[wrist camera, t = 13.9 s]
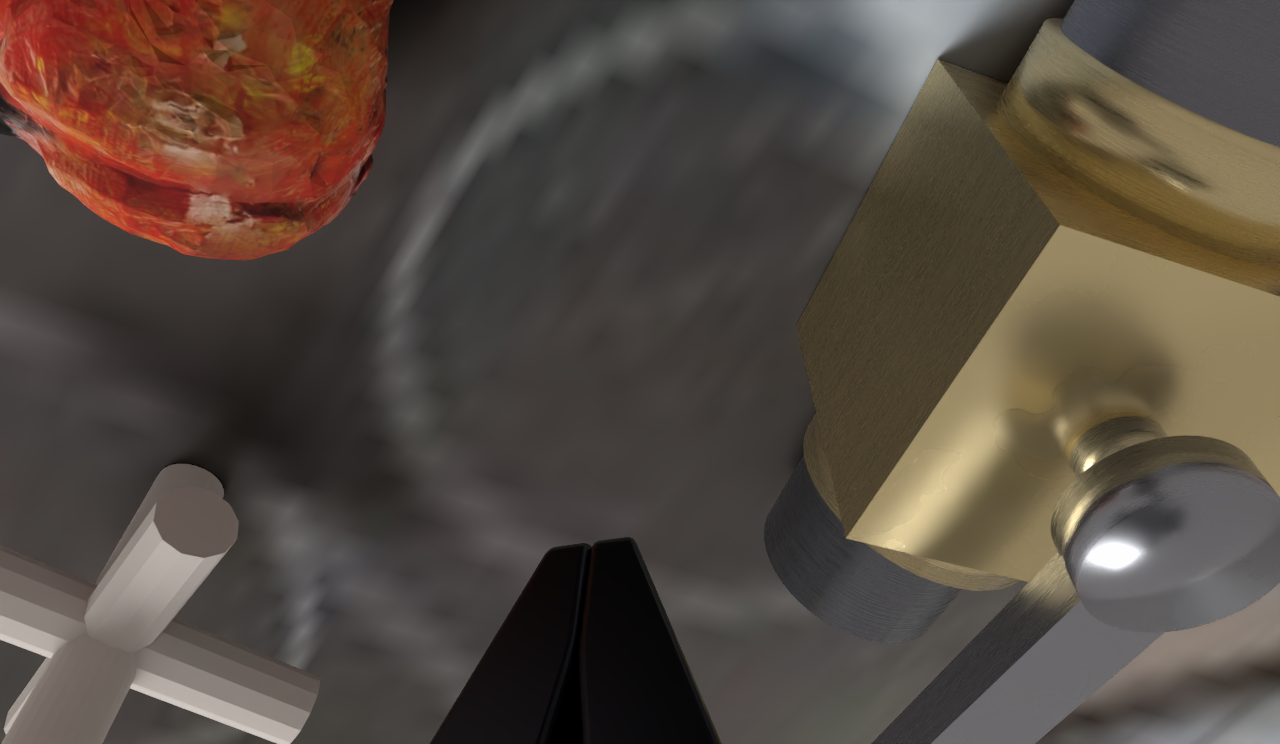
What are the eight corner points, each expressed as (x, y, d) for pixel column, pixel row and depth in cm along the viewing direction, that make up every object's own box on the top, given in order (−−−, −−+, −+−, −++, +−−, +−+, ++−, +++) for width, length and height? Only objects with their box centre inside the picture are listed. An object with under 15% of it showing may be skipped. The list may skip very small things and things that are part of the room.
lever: (1108, 366, 15) (1205, 515, 12) (1267, 422, 15) (1390, 573, 13) (718, 816, 23) (727, 958, 21) (831, 838, 24) (854, 978, 22)
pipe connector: (74, 274, 22) (-238, 619, 14) (435, 468, 26) (347, 823, 18) (-46, 505, 27) (-332, 860, 19) (274, 640, 31) (148, 982, 23)
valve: (1081, -213, 16) (1384, -123, 10) (1400, -76, 18) (1857, 87, 11) (721, 466, 26) (750, 741, 19) (944, 521, 27) (1041, 795, 21)
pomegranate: (387, -296, 17) (-321, -318, 12) (615, -171, 14) (-271, -129, 8) (400, 76, 22) (-95, 170, 17) (570, 242, 19) (-1, 424, 14)
